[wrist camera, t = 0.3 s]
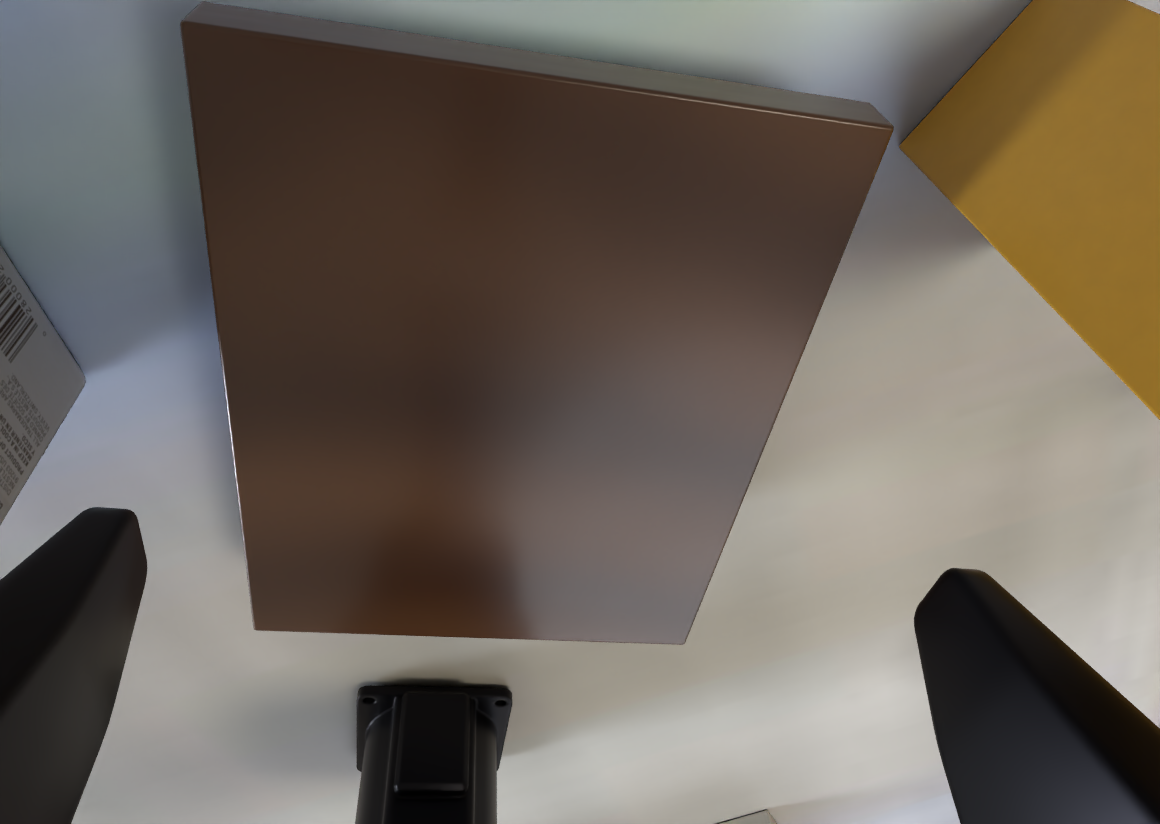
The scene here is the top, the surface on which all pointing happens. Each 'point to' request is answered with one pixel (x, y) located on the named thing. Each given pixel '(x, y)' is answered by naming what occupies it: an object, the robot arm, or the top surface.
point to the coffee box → (29, 383)
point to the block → (1066, 169)
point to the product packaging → (754, 819)
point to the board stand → (502, 319)
